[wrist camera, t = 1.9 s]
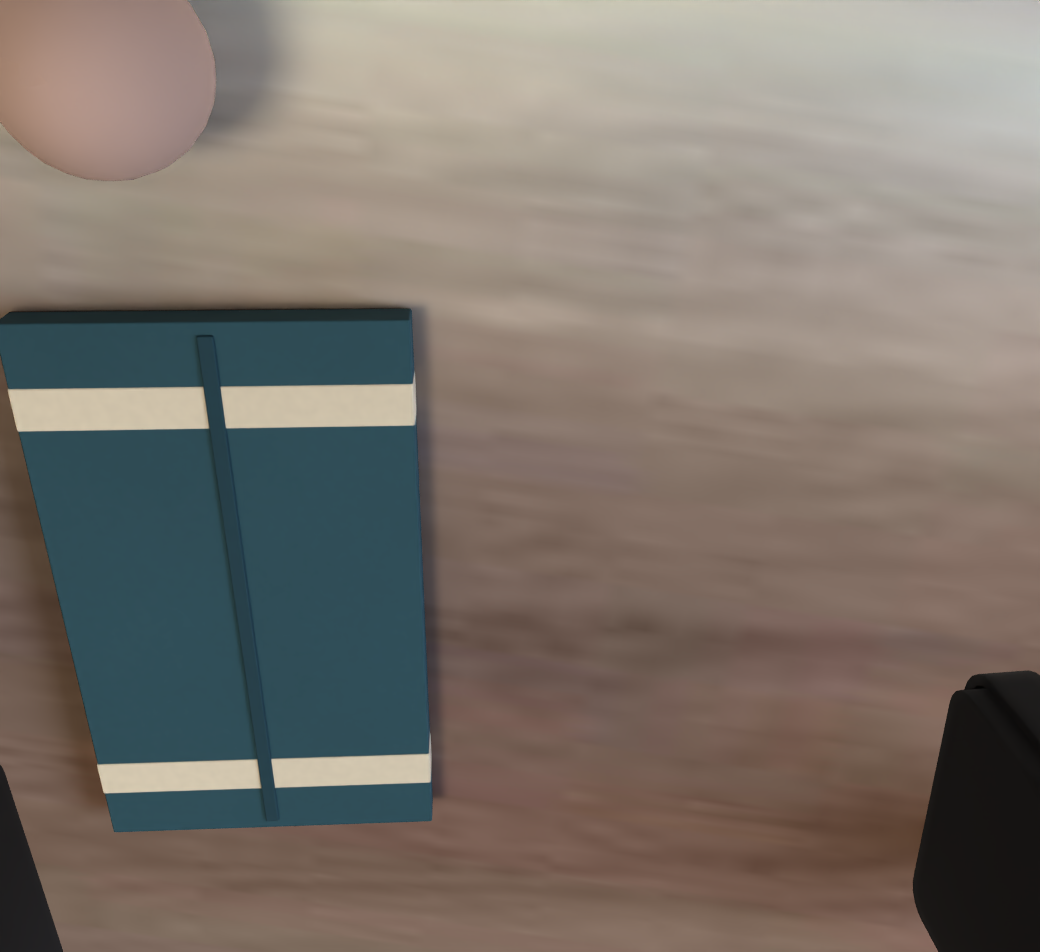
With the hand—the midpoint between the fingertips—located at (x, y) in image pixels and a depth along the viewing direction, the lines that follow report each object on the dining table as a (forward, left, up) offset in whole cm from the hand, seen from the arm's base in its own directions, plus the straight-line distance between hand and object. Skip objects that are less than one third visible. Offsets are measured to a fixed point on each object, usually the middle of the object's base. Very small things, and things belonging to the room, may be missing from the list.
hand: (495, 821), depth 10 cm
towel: (+12, -8, -22) cm, 26 cm away
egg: (-5, -9, -23) cm, 25 cm away
